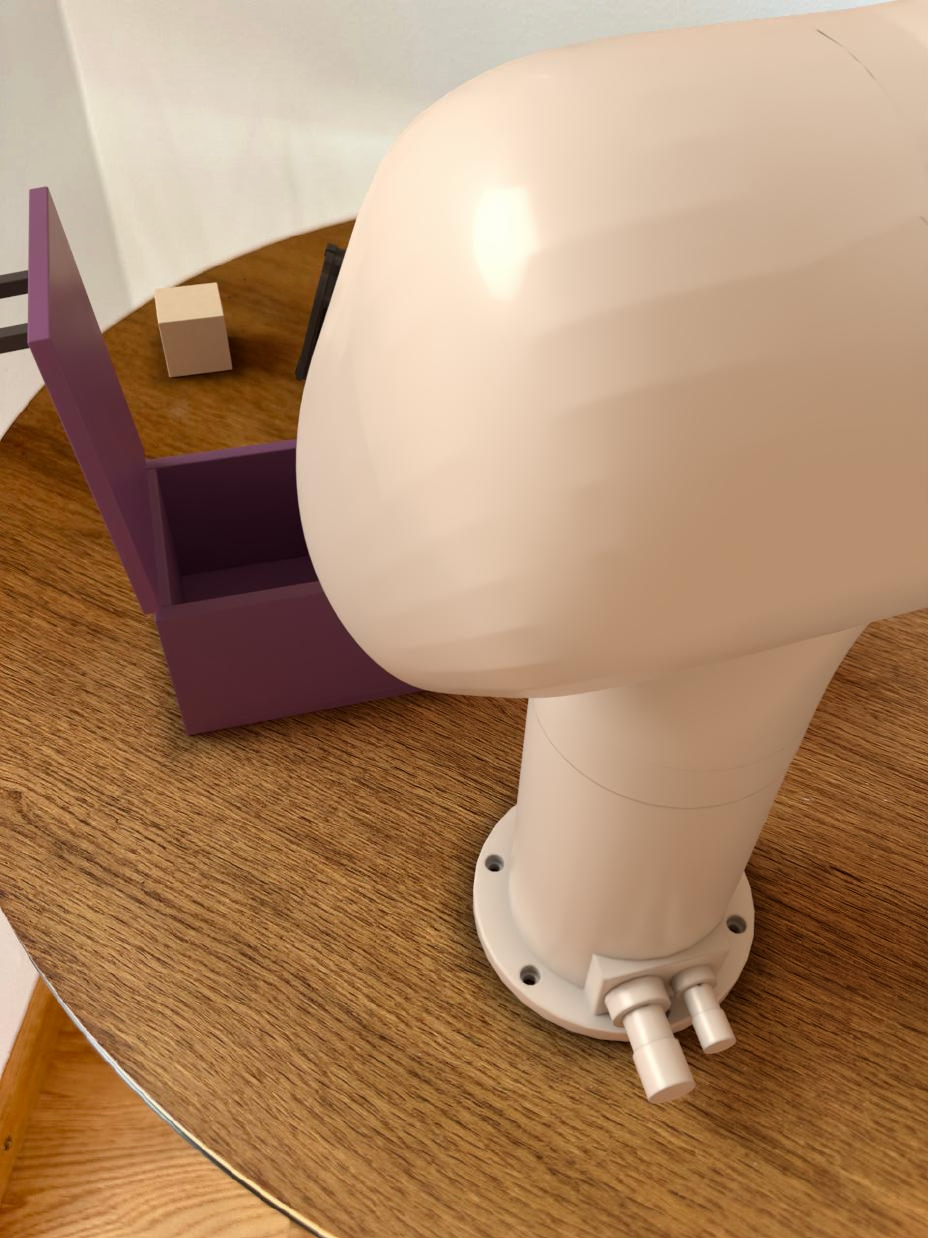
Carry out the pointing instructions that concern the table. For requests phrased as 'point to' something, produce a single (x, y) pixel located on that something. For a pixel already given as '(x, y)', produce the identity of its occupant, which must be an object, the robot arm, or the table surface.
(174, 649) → the box
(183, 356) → the block
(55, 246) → the lid
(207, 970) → the table surface
